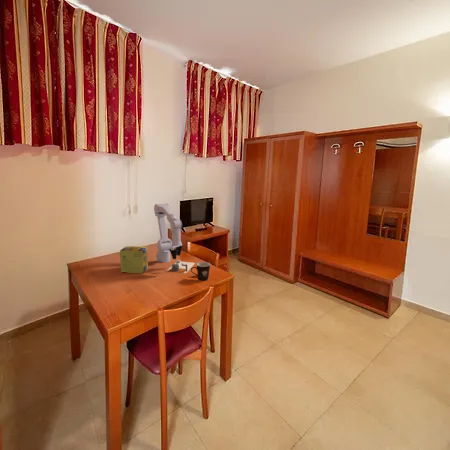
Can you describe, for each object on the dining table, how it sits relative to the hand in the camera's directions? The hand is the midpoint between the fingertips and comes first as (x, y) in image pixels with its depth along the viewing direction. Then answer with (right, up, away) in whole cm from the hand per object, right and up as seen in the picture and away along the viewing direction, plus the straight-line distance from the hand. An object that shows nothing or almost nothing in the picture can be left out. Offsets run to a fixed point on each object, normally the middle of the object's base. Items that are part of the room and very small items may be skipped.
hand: (176, 257), depth 174 cm
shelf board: (+2, -9, +6) cm, 11 cm away
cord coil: (-1, -10, 0) cm, 10 cm away
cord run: (-2, -7, +9) cm, 11 cm away
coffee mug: (+18, -13, -10) cm, 24 cm away
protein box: (-29, -9, +1) cm, 30 cm away
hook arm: (+6, -9, -2) cm, 11 cm away
